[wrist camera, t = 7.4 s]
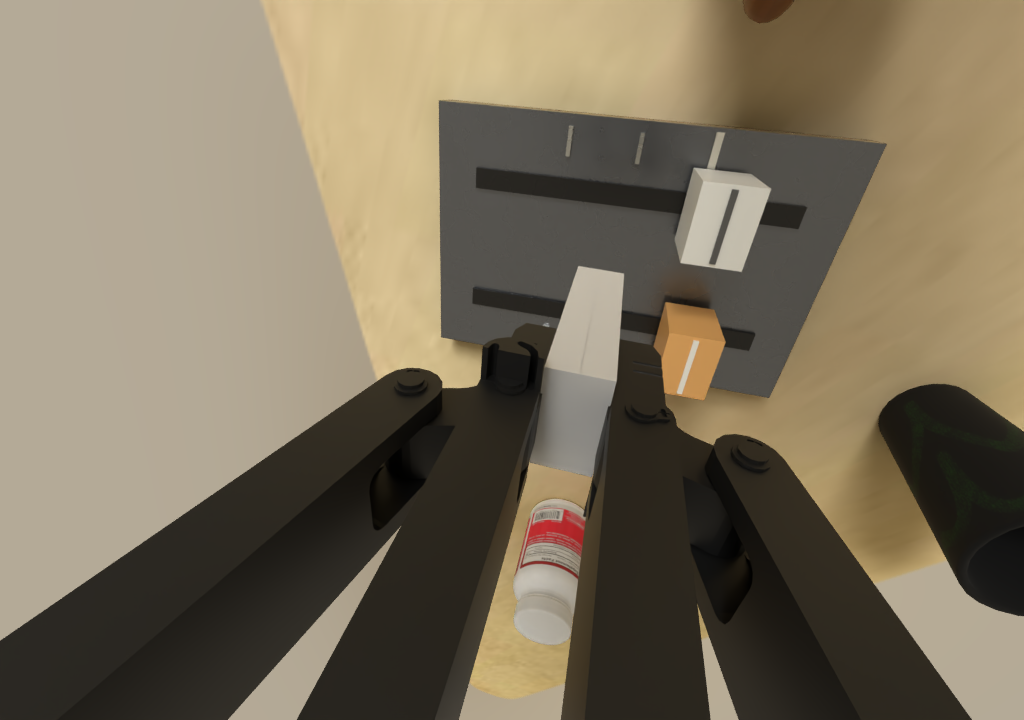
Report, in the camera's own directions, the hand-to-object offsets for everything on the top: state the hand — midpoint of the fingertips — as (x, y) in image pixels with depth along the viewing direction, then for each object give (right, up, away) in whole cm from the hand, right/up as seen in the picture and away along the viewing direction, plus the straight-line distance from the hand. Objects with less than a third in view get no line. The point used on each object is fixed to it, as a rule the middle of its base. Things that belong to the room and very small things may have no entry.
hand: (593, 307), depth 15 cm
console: (+4, +6, +15) cm, 17 cm away
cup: (+26, -6, +16) cm, 31 cm away
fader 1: (+9, +7, +10) cm, 15 cm away
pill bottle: (+2, -17, +30) cm, 35 cm away
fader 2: (+8, 0, +15) cm, 17 cm away
